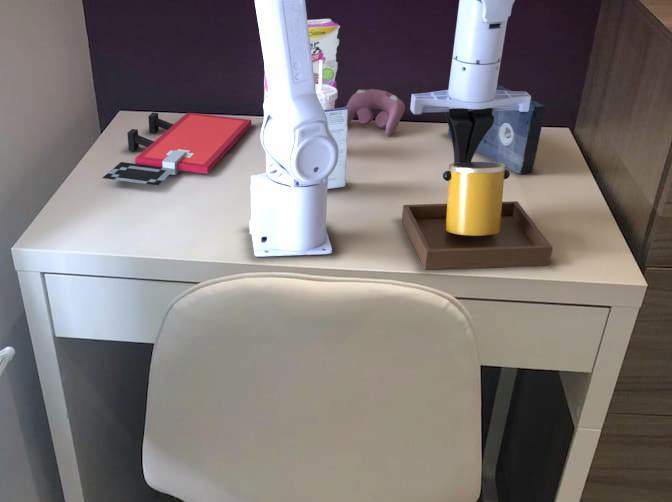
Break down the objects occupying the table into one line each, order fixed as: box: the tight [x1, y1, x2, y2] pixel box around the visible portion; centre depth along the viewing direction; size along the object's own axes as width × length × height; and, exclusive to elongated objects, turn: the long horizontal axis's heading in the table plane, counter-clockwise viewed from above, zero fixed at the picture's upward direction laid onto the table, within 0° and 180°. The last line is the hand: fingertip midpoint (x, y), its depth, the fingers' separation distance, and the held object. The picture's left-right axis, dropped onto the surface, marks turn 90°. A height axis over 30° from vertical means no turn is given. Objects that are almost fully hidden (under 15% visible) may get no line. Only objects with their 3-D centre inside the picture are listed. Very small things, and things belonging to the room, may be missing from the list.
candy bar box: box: [263, 18, 341, 109], centre depth 134 cm, size 11×5×16 cm, turn 107°
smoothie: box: [315, 60, 339, 110], centre depth 125 cm, size 6×6×14 cm
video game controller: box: [345, 88, 406, 137], centre depth 138 cm, size 10×5×7 cm, turn 58°
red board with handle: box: [102, 112, 252, 187], centre depth 128 cm, size 30×3×15 cm
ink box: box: [265, 106, 349, 190], centre depth 115 cm, size 12×2×12 cm, turn 108°
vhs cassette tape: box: [447, 84, 546, 175], centre depth 127 cm, size 18×3×10 cm, turn 25°
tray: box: [401, 200, 554, 270], centre depth 104 cm, size 15×13×2 cm
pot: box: [442, 161, 511, 236], centre depth 103 cm, size 8×10×10 cm
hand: (461, 166), depth 108 cm, fingers closed
